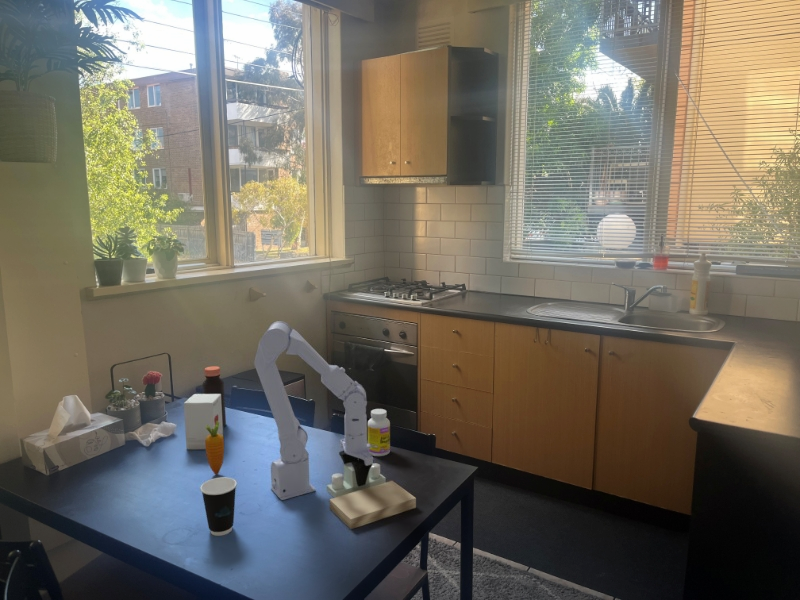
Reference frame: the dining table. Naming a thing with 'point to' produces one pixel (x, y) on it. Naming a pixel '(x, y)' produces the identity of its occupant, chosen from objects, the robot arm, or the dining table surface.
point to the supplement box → (201, 418)
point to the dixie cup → (219, 504)
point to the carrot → (214, 448)
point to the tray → (354, 480)
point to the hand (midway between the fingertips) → (356, 480)
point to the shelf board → (372, 504)
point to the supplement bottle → (379, 433)
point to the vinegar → (215, 386)
